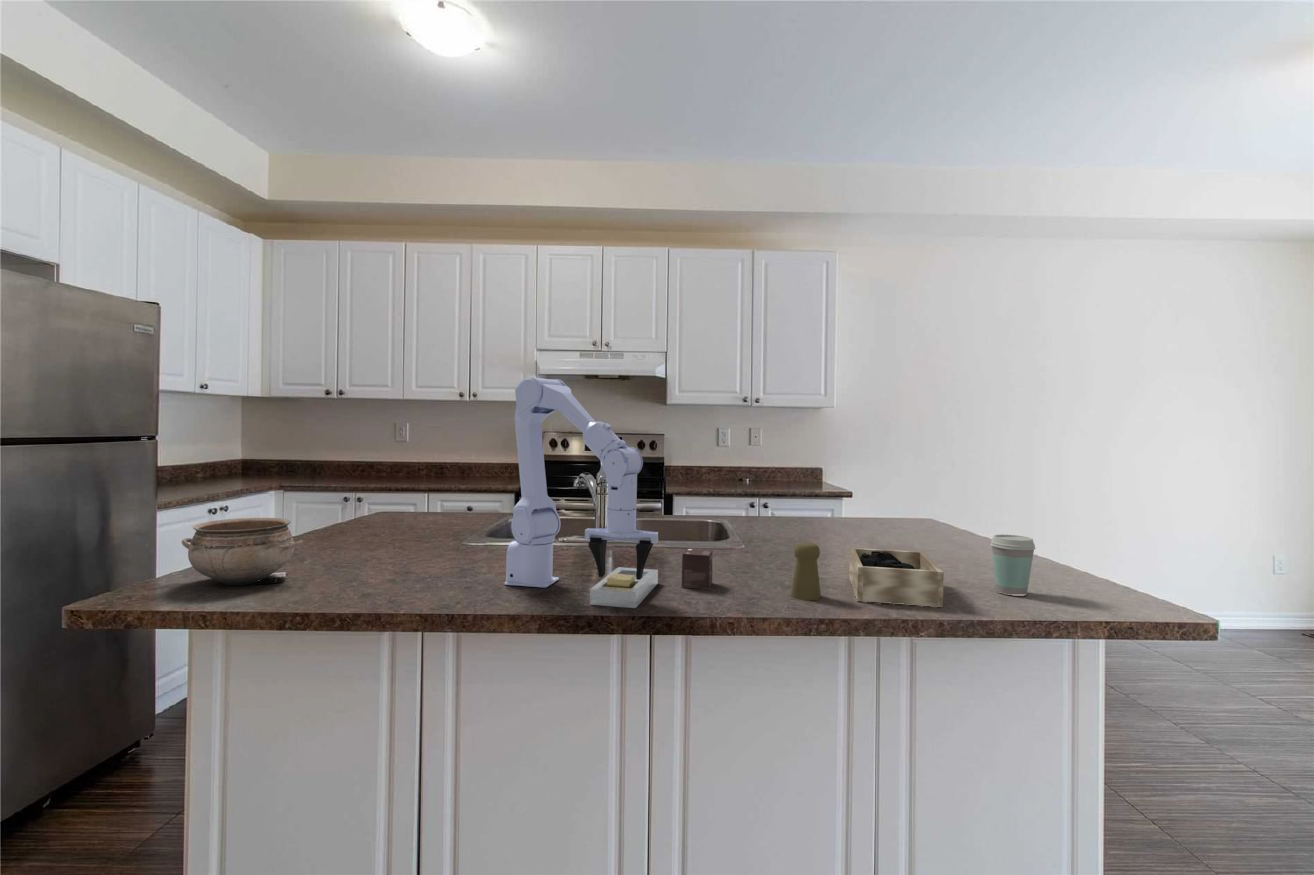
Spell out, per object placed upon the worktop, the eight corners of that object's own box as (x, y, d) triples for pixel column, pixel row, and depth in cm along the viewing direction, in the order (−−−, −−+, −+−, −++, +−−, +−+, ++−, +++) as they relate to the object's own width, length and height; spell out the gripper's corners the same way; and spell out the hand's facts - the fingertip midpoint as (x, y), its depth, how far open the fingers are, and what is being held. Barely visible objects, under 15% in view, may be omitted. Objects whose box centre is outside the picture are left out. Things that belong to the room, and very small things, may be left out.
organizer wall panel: (857, 601, 132) (858, 566, 132) (849, 578, 153) (850, 547, 153) (862, 602, 132) (863, 567, 132) (853, 578, 152) (854, 548, 152)
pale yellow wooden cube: (606, 601, 129) (607, 578, 129) (613, 595, 134) (613, 573, 134) (628, 603, 128) (629, 580, 128) (634, 597, 133) (635, 575, 133)
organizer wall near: (862, 602, 132) (863, 567, 132) (861, 600, 133) (862, 566, 133) (937, 607, 129) (938, 571, 129) (936, 606, 130) (937, 570, 130)
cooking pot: (324, 572, 149) (325, 518, 148) (276, 594, 130) (276, 532, 130) (213, 570, 149) (213, 516, 149) (149, 591, 130) (149, 529, 130)
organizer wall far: (854, 579, 151) (854, 548, 151) (853, 578, 152) (854, 548, 152) (918, 583, 149) (919, 552, 148) (918, 582, 150) (918, 551, 149)
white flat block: (590, 604, 127) (590, 588, 126) (617, 580, 146) (618, 567, 146) (635, 608, 125) (635, 592, 125) (657, 583, 144) (658, 569, 144)
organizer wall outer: (937, 607, 129) (938, 571, 129) (918, 582, 150) (918, 551, 149) (942, 607, 129) (943, 572, 129) (922, 582, 149) (923, 551, 149)
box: (709, 589, 140) (709, 555, 140) (681, 587, 141) (681, 553, 141) (712, 583, 146) (713, 549, 146) (685, 581, 147) (686, 548, 147)
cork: (822, 594, 138) (823, 541, 137) (819, 601, 132) (820, 546, 132) (792, 591, 140) (794, 539, 139) (788, 598, 134) (790, 544, 134)
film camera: (935, 602, 133) (936, 558, 133) (894, 605, 131) (896, 560, 130) (888, 584, 148) (889, 544, 148) (850, 586, 145) (851, 546, 145)
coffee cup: (1032, 591, 143) (1033, 536, 143) (1036, 600, 136) (1037, 542, 135) (988, 586, 147) (989, 532, 147) (989, 595, 139) (991, 538, 139)
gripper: (580, 509, 128) (579, 579, 128) (653, 513, 125) (651, 584, 125) (591, 505, 135) (590, 571, 135) (660, 508, 132) (659, 576, 132)
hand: (620, 577), depth 131 cm, fingers open, 7 cm apart
